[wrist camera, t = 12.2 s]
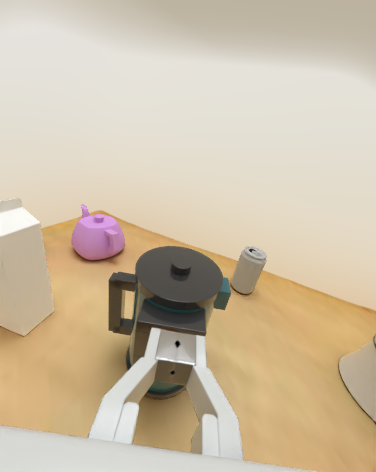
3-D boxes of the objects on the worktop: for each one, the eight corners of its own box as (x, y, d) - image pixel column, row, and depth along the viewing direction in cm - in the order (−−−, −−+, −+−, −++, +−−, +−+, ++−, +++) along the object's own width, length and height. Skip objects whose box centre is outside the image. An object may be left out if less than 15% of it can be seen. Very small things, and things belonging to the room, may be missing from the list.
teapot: (102, 230, 68) (102, 200, 63) (137, 257, 57) (139, 223, 53) (60, 240, 58) (56, 205, 53) (92, 274, 48) (90, 235, 43)
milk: (-5, 324, 33) (-53, 201, 23) (30, 300, 38) (3, 191, 28) (24, 337, 32) (-14, 214, 22) (56, 310, 37) (37, 201, 27)
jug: (200, 418, 27) (247, 319, 18) (88, 401, 26) (78, 290, 17) (199, 333, 38) (227, 248, 30) (122, 320, 38) (127, 229, 29)
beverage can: (240, 277, 58) (253, 243, 53) (256, 291, 54) (273, 256, 48) (225, 283, 55) (238, 247, 49) (242, 298, 50) (258, 261, 45)
